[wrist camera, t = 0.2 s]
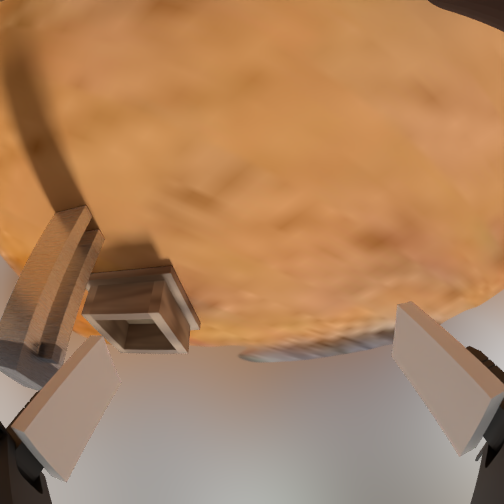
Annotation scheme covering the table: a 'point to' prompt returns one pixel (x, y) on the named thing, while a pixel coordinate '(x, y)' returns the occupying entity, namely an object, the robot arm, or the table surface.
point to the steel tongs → (48, 299)
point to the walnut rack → (141, 310)
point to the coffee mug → (476, 10)
